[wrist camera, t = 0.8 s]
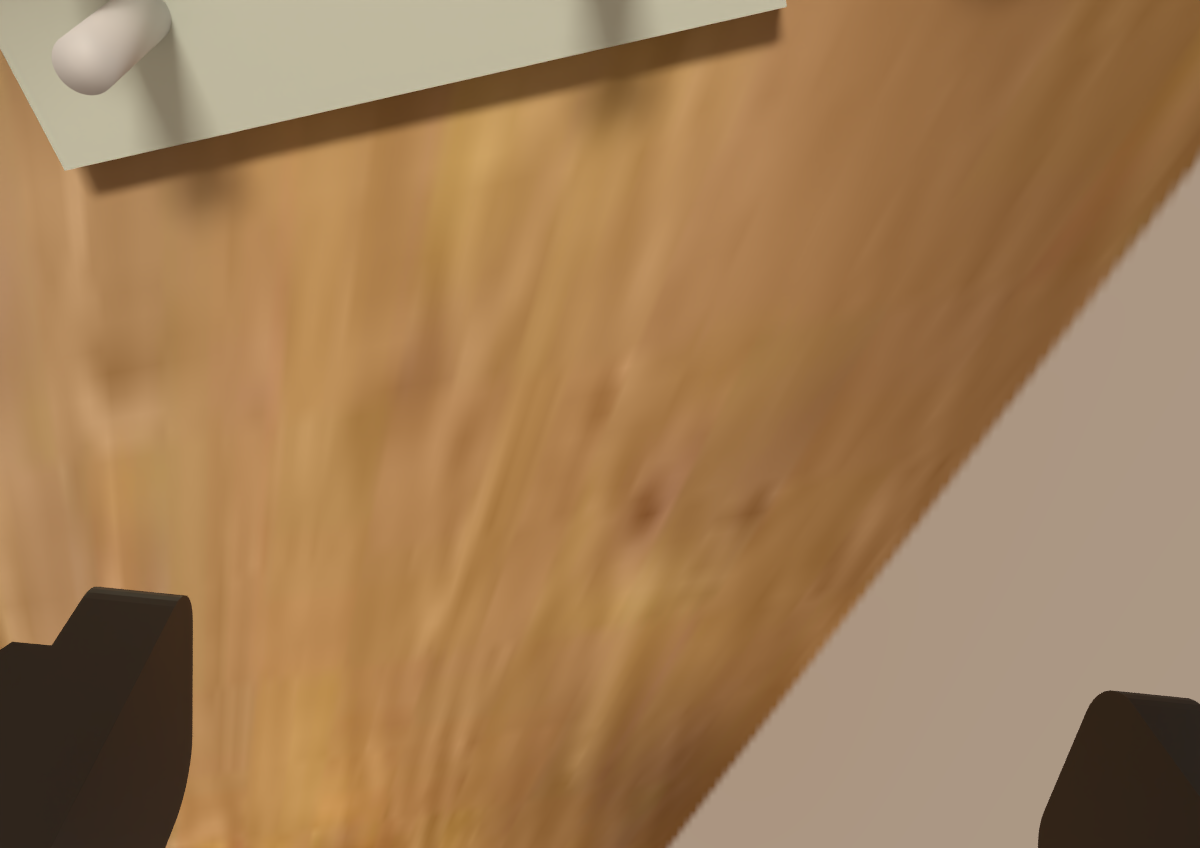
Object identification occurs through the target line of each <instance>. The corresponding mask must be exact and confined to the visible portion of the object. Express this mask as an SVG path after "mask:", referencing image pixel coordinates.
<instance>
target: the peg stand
mask: <svg viewBox="0 0 1200 848" xmlns="http://www.w3.org/2000/svg"><path fill="white" fill-rule="evenodd" d="M784 7H787V6H786V0H0V49H1V51H2V53H3V55H4V57H5V58H6V60H7V62H8V64H9V66H10V68H11V70H12V72H13V74H14V75H15V77H16V79H17V81H18V83H19V85H20V87H21V89H22V91H23V92H24V94H25V96H26V98H27V100H28V102H29V104H30V106H31V108H32V109H33V111H34V113H35V115H36V117H37V119H38V121H39V123H40V125H41V126H42V128H43V130H44V132H45V134H46V136H47V138H48V140H49V142H50V143H51V145H52V147H53V149H54V151H55V153H56V155H57V157H58V158H59V160H60V162H61V164H62V166H63V168H64V170H65V171H66V170H70V169H75V168H79V167H83V166H88V165H92V164H97V163H101V162H105V161H110V160H114V159H119V158H123V157H127V156H132V155H136V154H141V153H145V152H149V151H154V150H158V149H163V148H167V147H171V146H176V145H180V144H185V143H189V142H194V141H198V140H202V139H207V138H211V137H216V136H220V135H224V134H229V133H233V132H238V131H242V130H246V129H251V128H255V127H260V126H264V125H268V124H273V123H277V122H282V121H286V120H291V119H295V118H299V117H304V116H308V115H313V114H317V113H321V112H326V111H330V110H335V109H339V108H343V107H348V106H352V105H357V104H361V103H365V102H370V101H374V100H379V99H383V98H387V97H392V96H396V95H401V94H405V93H410V92H414V91H418V90H423V89H427V88H432V87H436V86H440V85H445V84H449V83H454V82H458V81H462V80H467V79H471V78H476V77H480V76H484V75H489V74H493V73H498V72H502V71H507V70H511V69H515V68H520V67H524V66H529V65H533V64H537V63H542V62H546V61H551V60H555V59H559V58H564V57H568V56H573V55H577V54H581V53H586V52H590V51H595V50H599V49H603V48H608V47H612V46H617V45H621V44H626V43H630V42H634V41H639V40H643V39H648V38H652V37H656V36H661V35H665V34H670V33H674V32H678V31H683V30H687V29H692V28H696V27H700V26H705V25H709V24H714V23H718V22H722V21H727V20H731V19H736V18H740V17H745V16H749V15H753V14H758V13H762V12H767V11H771V10H775V9H780V8H784Z"/></svg>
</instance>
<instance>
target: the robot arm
mask: <svg viewBox="0 0 1200 848" xmlns="http://www.w3.org/2000/svg"><path fill="white" fill-rule="evenodd" d="M192 675H193V616H192V606H191V602H190V600H189V598H188V597H187V596H184V595H174V594H164V593H154V592H144V591H134V590H124V589H114V588H104V587H93V588H91V589H90V590H89V591H88V592H87V593H86V594H85V596H84V597H83V598H82V600H81V601H80V603H79V604H78V606H77V607H76V609H75V611H74V612H73V614H72V615H71V617H70V618H69V620H68V621H67V623H66V624H65V626H64V627H63V629H62V631H61V632H60V634H59V635H58V637H57V638H56V640H55V641H54V643H53V644H52V646H51V645H40V644H29V643H19V642H11V643H10V644H8V645H7V646H5V647H4V648H2V649H1V650H0V848H165V847H166V844H167V842H168V839H169V837H170V834H171V832H172V829H173V826H174V824H175V821H176V819H177V816H178V813H179V810H180V807H181V803H182V800H183V796H184V792H185V788H186V783H187V778H188V773H189V766H190V759H191V750H192ZM1038 848H1200V704H1199V703H1197V702H1196V701H1194V700H1191V699H1189V698H1179V697H1170V696H1160V695H1150V694H1140V693H1130V692H1119V691H1105V692H1103V693H1101V694H1099V695H1098V696H1097V697H1096V698H1095V699H1094V700H1093V702H1092V703H1091V704H1090V706H1089V708H1088V710H1087V712H1086V714H1085V716H1084V719H1083V721H1082V723H1081V726H1080V728H1079V730H1078V733H1077V735H1076V738H1075V740H1074V742H1073V745H1072V747H1071V749H1070V752H1069V754H1068V756H1067V759H1066V761H1065V764H1064V766H1063V768H1062V771H1061V773H1060V775H1059V778H1058V780H1057V782H1056V785H1055V787H1054V790H1053V792H1052V794H1051V797H1050V799H1049V802H1048V804H1047V806H1046V808H1045V811H1044V814H1043V816H1042V819H1041V824H1040V828H1039V839H1038Z"/></svg>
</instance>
